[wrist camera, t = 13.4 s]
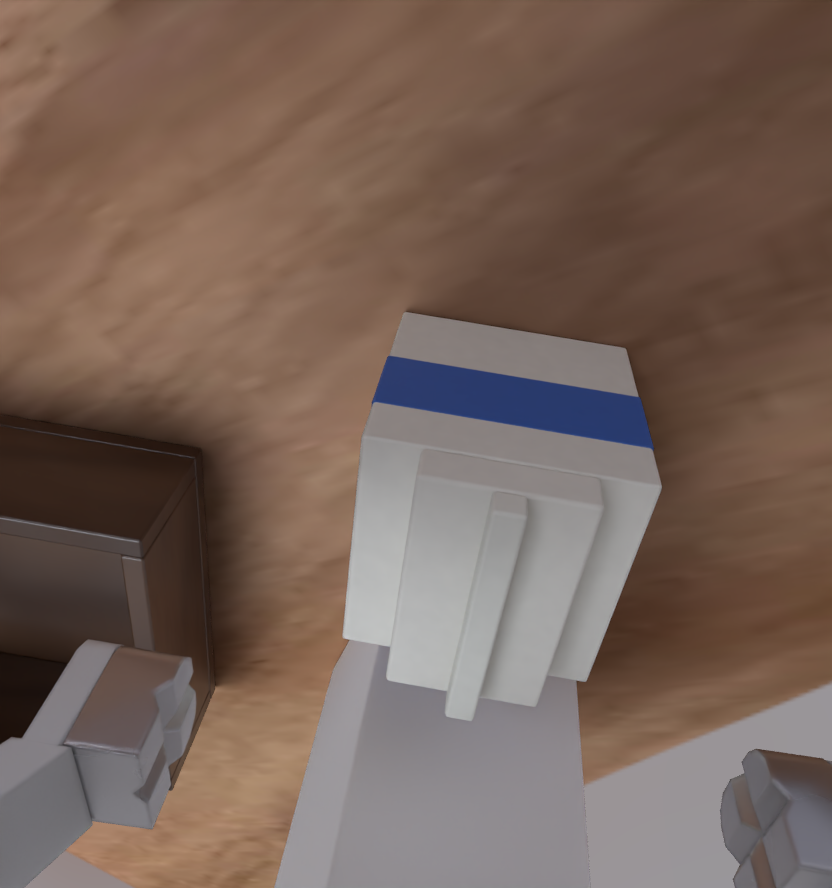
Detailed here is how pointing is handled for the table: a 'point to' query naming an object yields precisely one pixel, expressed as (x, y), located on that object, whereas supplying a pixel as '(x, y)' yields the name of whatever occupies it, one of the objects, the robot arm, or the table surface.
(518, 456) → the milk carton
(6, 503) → the box
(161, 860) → the table surface
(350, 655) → the milk
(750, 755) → the robot arm
